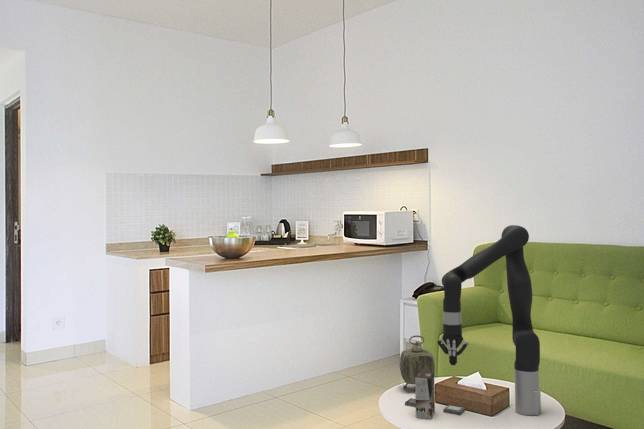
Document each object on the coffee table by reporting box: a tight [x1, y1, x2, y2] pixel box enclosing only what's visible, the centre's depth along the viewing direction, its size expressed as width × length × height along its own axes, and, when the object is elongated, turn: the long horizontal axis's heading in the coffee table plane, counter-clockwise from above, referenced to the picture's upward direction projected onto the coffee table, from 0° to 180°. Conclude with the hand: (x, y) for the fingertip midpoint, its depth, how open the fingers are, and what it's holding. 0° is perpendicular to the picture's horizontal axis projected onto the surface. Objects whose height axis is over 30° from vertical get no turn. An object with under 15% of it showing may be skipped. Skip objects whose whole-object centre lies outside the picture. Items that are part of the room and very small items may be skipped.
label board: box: [404, 397, 466, 416], centre depth 230 cm, size 24×6×1 cm, turn 57°
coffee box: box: [414, 372, 436, 420], centre depth 222 cm, size 9×6×16 cm
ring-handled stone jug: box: [399, 334, 436, 390], centre depth 253 cm, size 14×9×25 cm, turn 94°
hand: (453, 364), depth 225 cm, fingers closed
